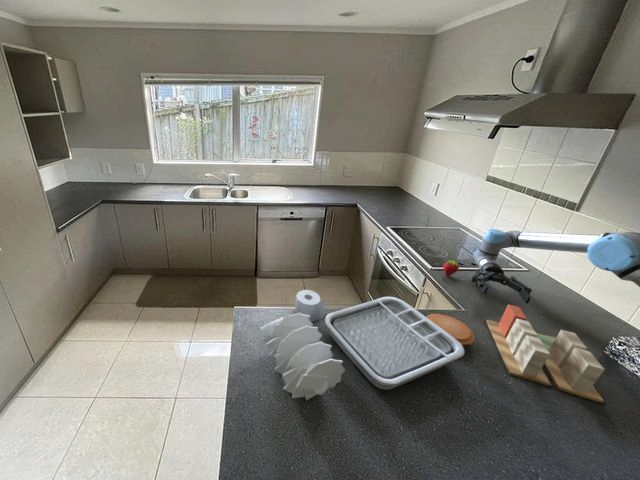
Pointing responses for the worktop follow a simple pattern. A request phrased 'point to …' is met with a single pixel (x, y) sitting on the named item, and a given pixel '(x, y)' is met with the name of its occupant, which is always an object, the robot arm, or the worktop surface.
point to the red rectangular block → (510, 318)
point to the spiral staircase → (301, 356)
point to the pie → (453, 328)
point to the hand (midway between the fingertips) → (506, 295)
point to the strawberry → (450, 267)
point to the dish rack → (391, 341)
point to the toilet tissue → (310, 305)
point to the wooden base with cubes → (521, 351)
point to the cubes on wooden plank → (572, 365)
